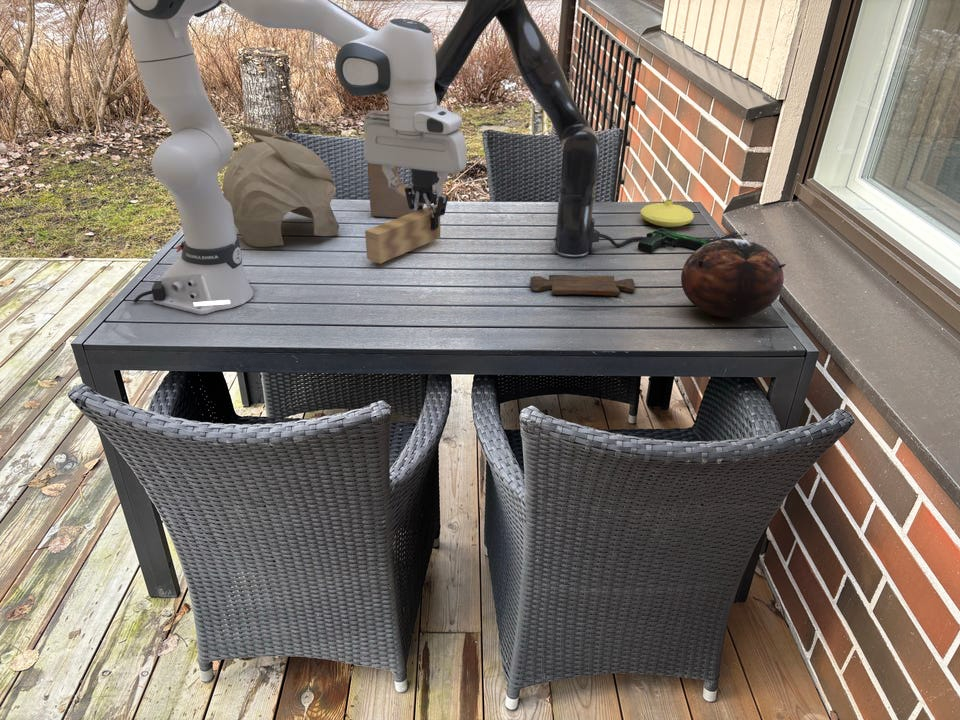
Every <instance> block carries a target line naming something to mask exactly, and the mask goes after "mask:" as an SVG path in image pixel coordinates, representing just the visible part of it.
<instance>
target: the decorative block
mask: <svg viewBox="0 0 960 720" xmlns="http://www.w3.org/2000/svg"><path fill="white" fill-rule="evenodd" d="M370 113H377V114H389V110H381V109H379V110H377V109H372V110H370V111H368V112H367V113H366V114H365V115H364V119H365V118H366V116H368V115H370ZM369 118H370V117H369ZM366 163H367V177H368V187H369V189H368V191H369V206H370V216H371V217H378V218H392V219H393V218H395V219H397V218H399V217H402V216H405V215H407V214H410V213H413V212H414V210H412V209H409V206H408V202H407V198H406V193H405V188H406V187H408V186H407V185H406V184H404V183H403V181H402V179H401V177H400V173H399V167H396V166H393V168H392V171H393V174H394V176H395V177H397V178H399V187H398V188H389V186H388V179H387V177H386V176H385V174H384V172H383V171H382V165H380V164H372V163H368V162H367V161H366ZM412 204H413V201H412Z"/></svg>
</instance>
